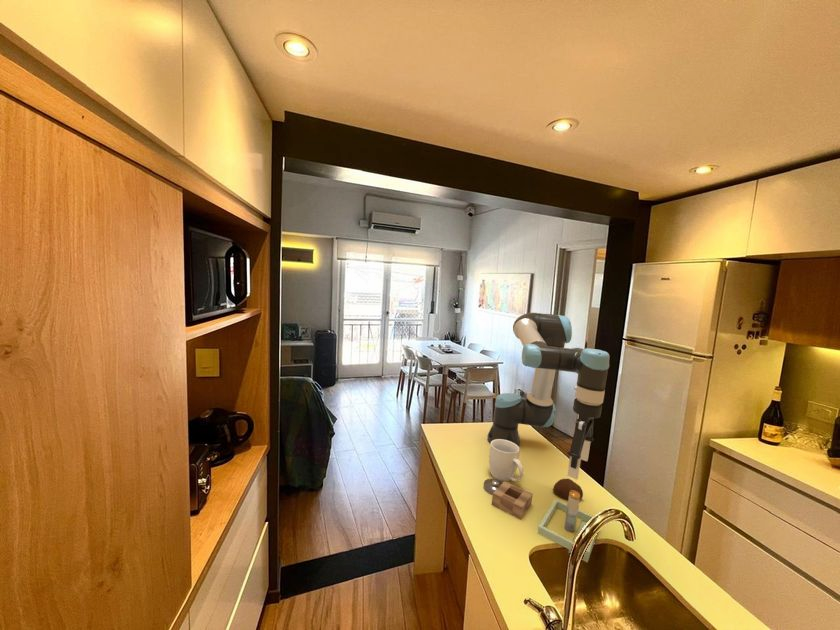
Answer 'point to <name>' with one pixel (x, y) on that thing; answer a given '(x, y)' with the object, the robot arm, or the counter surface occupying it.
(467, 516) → the counter surface
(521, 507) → the block
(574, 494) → the pin
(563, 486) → the potato
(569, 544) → the light teal rectangular frame
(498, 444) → the mug
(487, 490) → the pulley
